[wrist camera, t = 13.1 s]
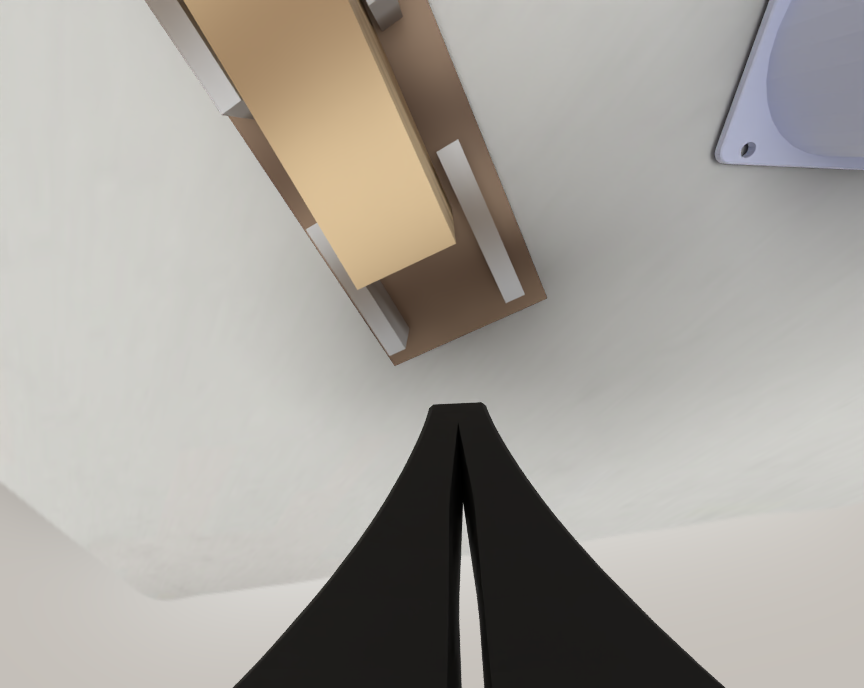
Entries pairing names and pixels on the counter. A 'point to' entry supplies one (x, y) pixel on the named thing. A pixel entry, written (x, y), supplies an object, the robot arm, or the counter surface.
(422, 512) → the robot arm
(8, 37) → the counter surface
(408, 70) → the board
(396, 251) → the oak slat
